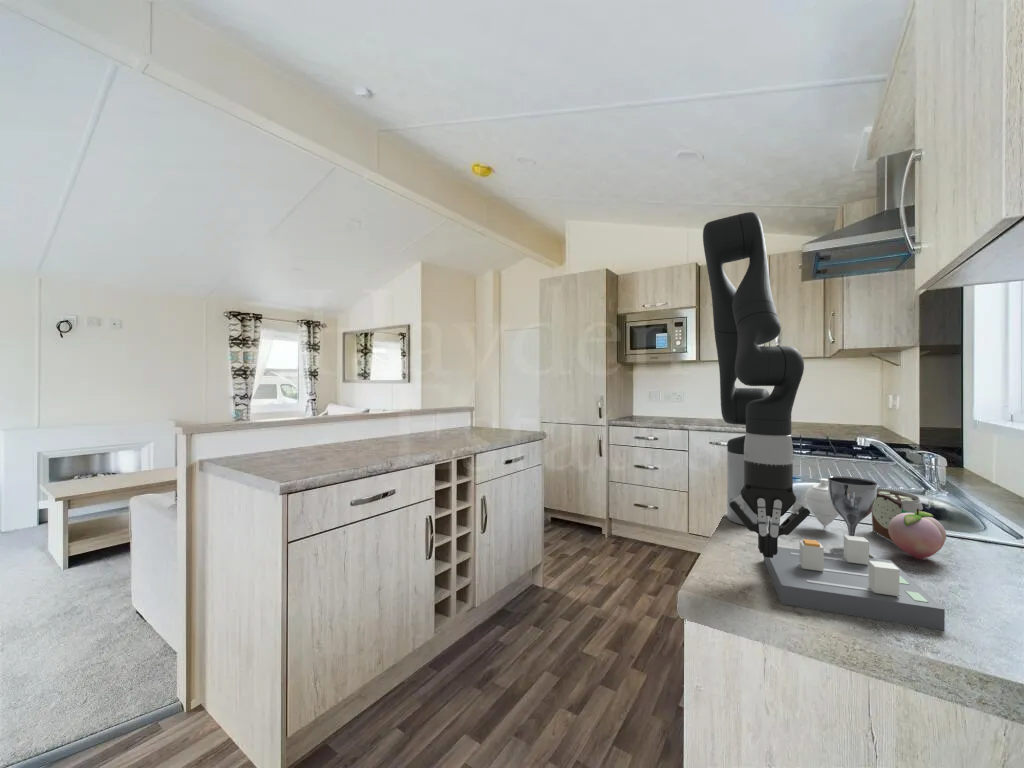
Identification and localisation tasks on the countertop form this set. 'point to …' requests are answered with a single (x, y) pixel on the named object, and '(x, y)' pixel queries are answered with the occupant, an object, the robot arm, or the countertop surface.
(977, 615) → the countertop surface
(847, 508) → the wine glass
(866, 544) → the block
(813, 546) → the block
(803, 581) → the grey flat slab
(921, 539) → the decorative fruit
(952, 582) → the countertop surface
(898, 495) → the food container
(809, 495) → the spinning top
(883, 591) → the breaker
